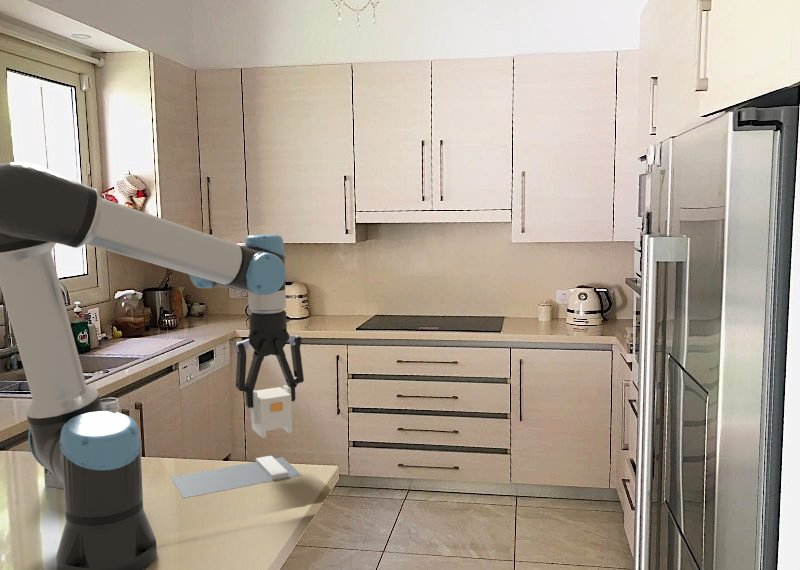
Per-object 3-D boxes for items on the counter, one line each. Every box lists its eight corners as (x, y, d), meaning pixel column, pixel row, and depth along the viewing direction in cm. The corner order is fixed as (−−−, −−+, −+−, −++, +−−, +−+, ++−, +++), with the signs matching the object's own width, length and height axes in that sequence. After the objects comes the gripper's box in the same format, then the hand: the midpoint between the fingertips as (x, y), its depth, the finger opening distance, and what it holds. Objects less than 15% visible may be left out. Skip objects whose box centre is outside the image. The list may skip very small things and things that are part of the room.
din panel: (302, 482, 154) (302, 470, 154) (183, 505, 143) (183, 493, 142) (282, 463, 164) (282, 452, 164) (171, 484, 153) (170, 472, 153)
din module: (293, 433, 154) (291, 395, 153) (262, 438, 151) (261, 400, 150) (281, 423, 161) (279, 387, 160) (251, 428, 158) (250, 391, 157)
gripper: (305, 303, 160) (308, 407, 164) (215, 311, 151) (220, 421, 154) (318, 308, 154) (321, 416, 157) (225, 317, 145) (230, 432, 148)
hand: (271, 419), depth 156 cm, fingers closed on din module, 6 cm apart
